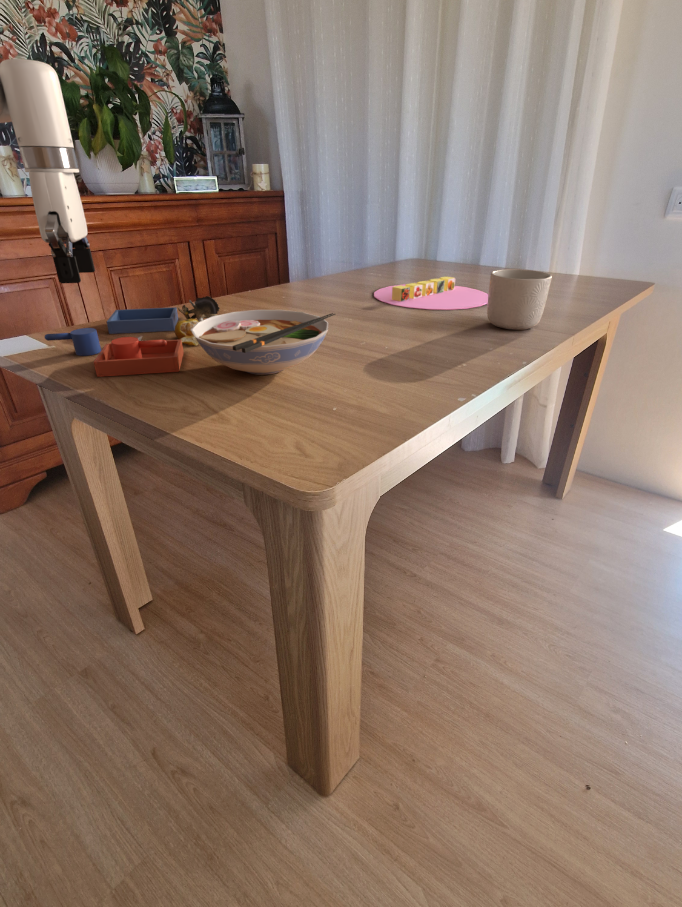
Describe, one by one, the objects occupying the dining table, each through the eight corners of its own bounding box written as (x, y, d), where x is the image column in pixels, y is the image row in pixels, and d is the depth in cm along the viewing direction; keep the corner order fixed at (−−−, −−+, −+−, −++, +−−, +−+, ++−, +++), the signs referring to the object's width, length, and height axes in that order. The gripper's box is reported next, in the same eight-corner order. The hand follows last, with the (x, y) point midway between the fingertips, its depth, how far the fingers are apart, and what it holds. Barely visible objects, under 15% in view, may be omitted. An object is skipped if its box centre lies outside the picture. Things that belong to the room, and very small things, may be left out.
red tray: (97, 376, 82) (93, 361, 81) (109, 357, 91) (106, 343, 90) (179, 371, 85) (176, 356, 83) (183, 352, 93) (181, 339, 92)
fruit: (187, 347, 96) (184, 328, 94) (164, 339, 101) (161, 321, 99) (222, 338, 101) (220, 320, 99) (198, 330, 106) (196, 313, 104)
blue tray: (109, 334, 104) (106, 321, 103) (118, 321, 113) (115, 309, 111) (174, 330, 106) (172, 318, 105) (178, 318, 115) (176, 307, 114)
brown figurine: (179, 326, 105) (220, 318, 104) (174, 293, 106) (215, 285, 105) (193, 336, 113) (231, 329, 112) (189, 306, 113) (227, 298, 112)
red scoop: (114, 367, 85) (108, 345, 83) (118, 359, 89) (113, 337, 87) (168, 364, 87) (164, 342, 85) (171, 356, 90) (167, 334, 88)
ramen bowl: (262, 339, 101) (259, 298, 97) (357, 360, 90) (358, 314, 86) (162, 376, 83) (153, 327, 79) (267, 407, 72) (263, 353, 68)
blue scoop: (103, 347, 96) (98, 327, 94) (98, 355, 92) (93, 333, 90) (53, 350, 94) (47, 329, 92) (46, 358, 91) (39, 336, 89)
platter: (349, 294, 138) (349, 281, 136) (424, 279, 156) (425, 268, 154) (441, 316, 117) (442, 302, 115) (514, 296, 135) (517, 283, 134)
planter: (547, 323, 112) (558, 272, 107) (532, 336, 103) (543, 281, 98) (493, 315, 118) (501, 267, 113) (475, 327, 109) (482, 275, 104)
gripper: (42, 162, 83) (69, 269, 92) (1, 160, 69) (38, 288, 77) (89, 162, 85) (112, 268, 93) (59, 161, 70) (89, 286, 78)
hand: (78, 277), depth 85 cm, fingers open, 9 cm apart
